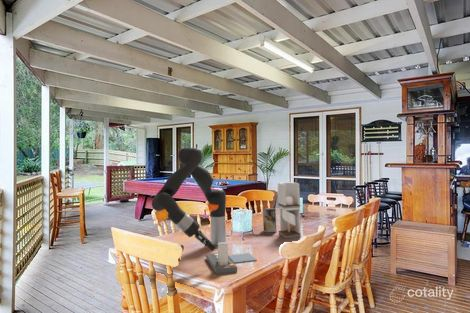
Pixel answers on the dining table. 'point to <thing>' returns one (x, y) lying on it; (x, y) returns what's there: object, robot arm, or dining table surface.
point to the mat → (242, 258)
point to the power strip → (220, 269)
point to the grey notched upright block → (289, 209)
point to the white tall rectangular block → (222, 253)
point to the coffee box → (269, 219)
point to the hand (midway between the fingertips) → (212, 246)
